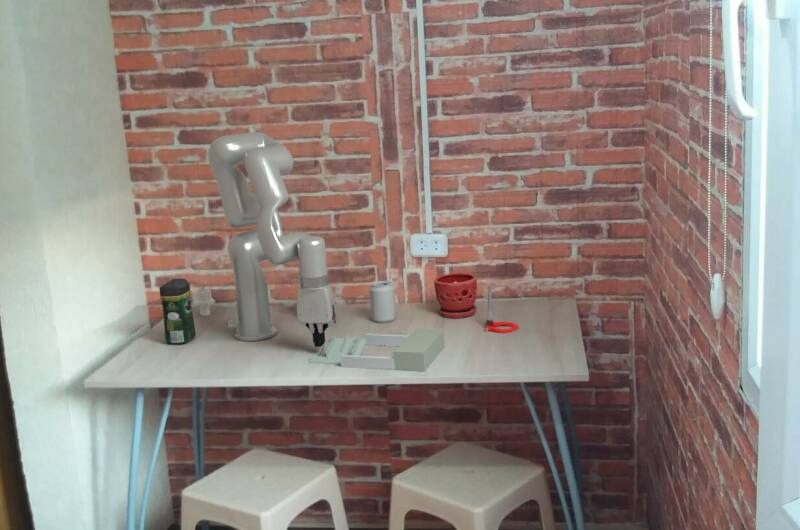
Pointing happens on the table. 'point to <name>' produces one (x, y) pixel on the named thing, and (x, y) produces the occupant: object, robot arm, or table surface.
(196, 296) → the pipe fitting
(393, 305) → the can
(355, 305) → the table surface
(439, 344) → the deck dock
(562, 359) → the table surface
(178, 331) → the coffee jar
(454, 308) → the plant pot
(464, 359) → the table surface
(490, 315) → the tow hook
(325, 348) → the metal bracket
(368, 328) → the table surface
